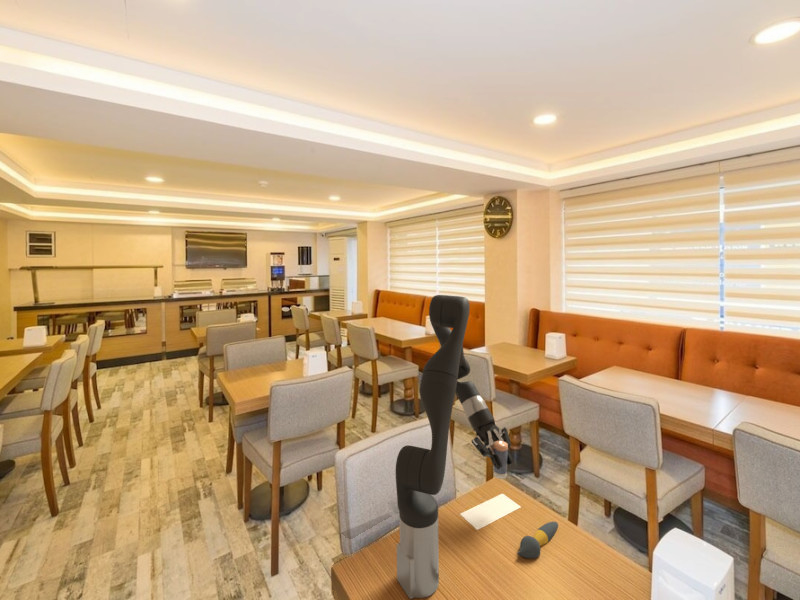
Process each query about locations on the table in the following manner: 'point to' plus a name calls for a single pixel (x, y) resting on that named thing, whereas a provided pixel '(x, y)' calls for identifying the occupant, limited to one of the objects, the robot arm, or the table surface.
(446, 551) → the table surface
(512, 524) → the table surface
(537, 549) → the paintbrush
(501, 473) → the peach capped blue cylinder
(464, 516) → the whiteboard
